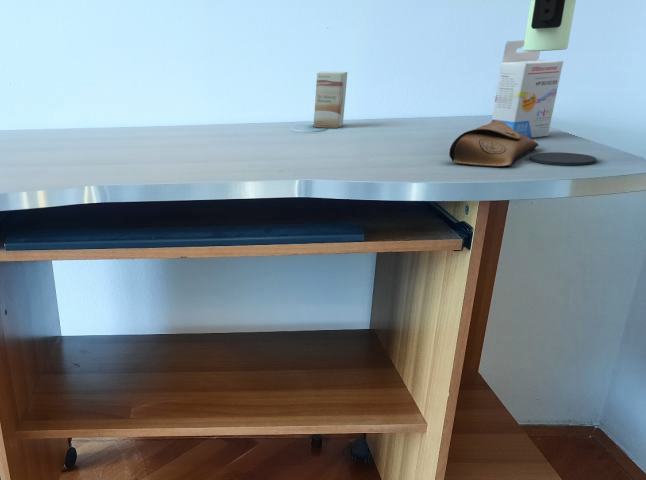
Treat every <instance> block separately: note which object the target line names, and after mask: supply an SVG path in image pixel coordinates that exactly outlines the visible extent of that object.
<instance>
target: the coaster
mask: <svg viewBox="0 0 646 480" xmlns="http://www.w3.org/2000/svg"><path fill="white" fill-rule="evenodd" d="M529 160H530V161H531V162H535V163H538V164H545V165H550V166H551V165H552V166H568V167H569V166H574V167H575V166H587V165H592V164H595V163H597V157H596V156H592V155H589V154H583V153H577V152H562V151H561V152H559V151H558V152H555V151H553V152H549V151H548V152H538V153H533V154H531V155H530V156H529Z"/></svg>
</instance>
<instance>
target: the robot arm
mask: <svg viewBox="0 0 646 480" xmlns="http://www.w3.org/2000/svg"><path fill="white" fill-rule="evenodd" d="M564 5H565V0H535V5H534V11H533V18H532V24H531V27H532V28H533V29H540V28H557V27H559V26H560V25H561V22H562V16H563V11H564Z"/></svg>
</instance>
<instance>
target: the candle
mask: <svg viewBox="0 0 646 480" xmlns="http://www.w3.org/2000/svg"><path fill="white" fill-rule="evenodd" d="M576 1H577V0H565V5H564V11H563V16H562V22H561V25H560V26H559V27H557V28H540V29H533V28H532V27H531V24H532V18H533V11H534V5H535V0H530V3H529V10H528V16H527V22H526V28H525V36H524V40H525V42H524V46H523V47H522V48H523V52H528V51H540V52H549V51H550V52H551V51H564V50H565V51H566V50H567V49H568V46H569V41H570V36H571V29H572V25H573V20H574V13H575V8H576V7H575V6H576Z"/></svg>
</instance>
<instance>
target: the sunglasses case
mask: <svg viewBox="0 0 646 480" xmlns="http://www.w3.org/2000/svg"><path fill="white" fill-rule="evenodd" d="M537 147H539V143H538V142H536V141H535V140H534V139H533V138H529V137H526V136H523V135H521V134H519V133H517V132H516V131H514V130H513V129H512V128H511V127H509V126H508V125H507V124H505V123H503V122H502V121H499V120H494V121H492V120H491V122H489V123H487V124H484V125H482V126H479V127H475V128H474V129H470V130H467V131H464V132H463V133H461V134H459V136H457V137H456V139H454V140H453V142H452V143H451V145H450V148H449V153H448V154H449V158H450V160H451V161H452V162H453V163H454V164H458V165H459V164H460V165H465V166H472V167H507V166H512V165H513V163H514V161H516V160H518V159H519V158H521V157H523V156H525V155H527V154H528V153H529V152H532V151H533V150H534V149H536V148H537Z"/></svg>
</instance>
